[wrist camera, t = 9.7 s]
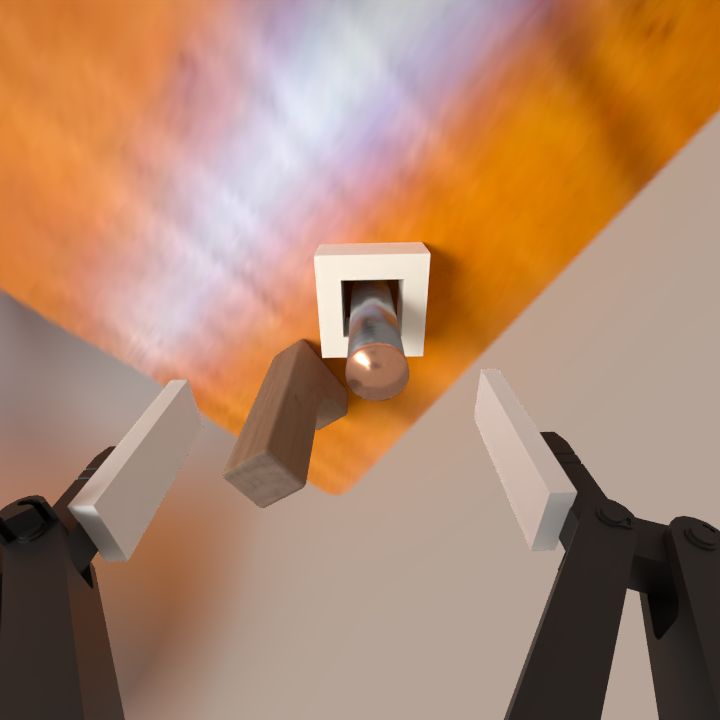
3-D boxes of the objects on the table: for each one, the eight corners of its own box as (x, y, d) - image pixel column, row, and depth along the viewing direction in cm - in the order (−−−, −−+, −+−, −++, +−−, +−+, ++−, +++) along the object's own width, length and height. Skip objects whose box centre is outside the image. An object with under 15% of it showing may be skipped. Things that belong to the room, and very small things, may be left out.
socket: (319, 243, 35) (313, 255, 31) (421, 241, 35) (430, 253, 31) (326, 336, 40) (322, 357, 36) (416, 334, 40) (422, 356, 36)
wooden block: (349, 391, 44) (343, 521, 28) (320, 408, 45) (298, 542, 29) (303, 336, 40) (265, 450, 24) (272, 356, 41) (218, 476, 26)
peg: (352, 311, 39) (346, 401, 24) (350, 273, 37) (343, 347, 22) (390, 310, 39) (407, 400, 24) (390, 272, 37) (410, 345, 22)
